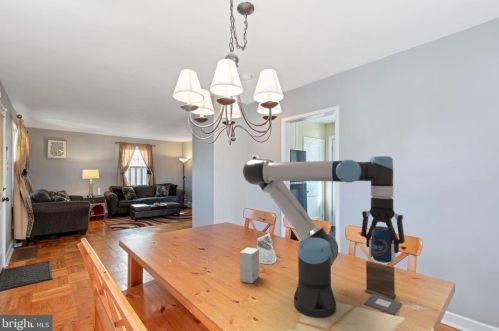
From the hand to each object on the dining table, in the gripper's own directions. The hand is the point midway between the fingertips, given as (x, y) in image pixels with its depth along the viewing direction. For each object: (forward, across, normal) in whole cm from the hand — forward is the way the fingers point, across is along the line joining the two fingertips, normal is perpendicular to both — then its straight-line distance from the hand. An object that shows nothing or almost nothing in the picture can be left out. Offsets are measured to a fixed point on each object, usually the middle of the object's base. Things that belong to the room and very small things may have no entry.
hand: (382, 258), depth 92 cm
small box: (+17, +51, +18) cm, 57 cm away
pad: (+17, 0, 0) cm, 17 cm away
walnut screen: (+17, +3, -7) cm, 19 cm away
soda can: (+1, 0, 0) cm, 1 cm away
